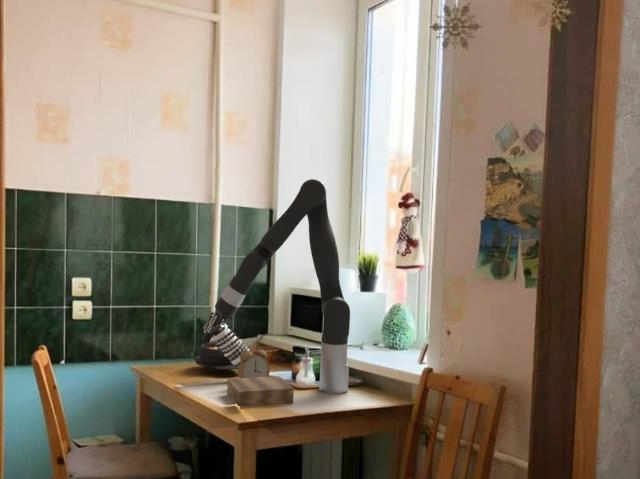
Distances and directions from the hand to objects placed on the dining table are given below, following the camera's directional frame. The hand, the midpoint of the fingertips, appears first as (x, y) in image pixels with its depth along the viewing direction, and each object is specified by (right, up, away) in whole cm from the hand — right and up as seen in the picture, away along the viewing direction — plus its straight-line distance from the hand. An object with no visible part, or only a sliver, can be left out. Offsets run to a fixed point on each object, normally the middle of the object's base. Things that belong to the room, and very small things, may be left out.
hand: (204, 341), depth 240 cm
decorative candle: (+17, -13, +11) cm, 23 cm away
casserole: (+1, -14, +27) cm, 31 cm away
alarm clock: (+17, -16, 0) cm, 23 cm away
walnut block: (+21, -17, -16) cm, 32 cm away
